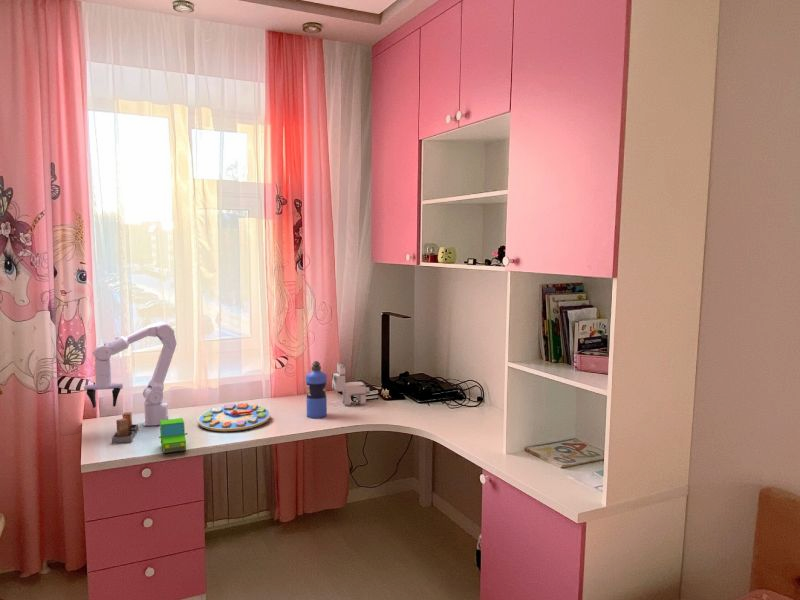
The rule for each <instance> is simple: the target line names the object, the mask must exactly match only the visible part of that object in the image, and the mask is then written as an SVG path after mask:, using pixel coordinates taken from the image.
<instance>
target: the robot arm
mask: <svg viewBox="0 0 800 600" xmlns="http://www.w3.org/2000/svg"><path fill="white" fill-rule="evenodd" d="M147 337H153V338H154V337H155V338H156V337H157V338H158V339H159V341H160V342H161V344H162V348H161V350H160V353H159V356H158V360H157V362H156V365H155V368H154V370H153V371H154V372H153V375H152V378H151V379H150V381H149V382H148V384H147V386H146V387H145V388H144V389H143V393H142V396H143V398H144V399H145V401H144V405H143V406H144V422H143V424H142V426H143V427H147V426H149V427H150V426H160V420H168V419H169V405H168V402H166V401H165V402H163V400H164V389H165V387H164V382H165V380H166V377H167V375H168V374H167V373H168V371H169V368H170V364H171V362H172V359H173V356H174V353H175V349H176V347H177V340H176V336H175V330H174V329H173V327H172V326H171V325H170V324H169V323H165V322H164V321H157V322H155V323H151V324H148V325H147V326H145V327H143V328H141V329H139V330H137V331H135V332H133V333H131V334H130V335H127V336H122V335H121V336H118V335H117V336H115V337H114V339H112V340H110V341H108V342H103V344H98V345H97V346H96V347H95V348H94V349H93V352H92V355H93V356H94V357H95V358H94V362H95V364H94V370H95V371H94V372H95V374H94V375H95V384H94V383H93V384H85V385H83V391H85V392H86V395H87V396H88V398H89V400H90V402H91V405H92V408H94V409H96V407H97V402H96V391H97V390H98V391H100V390H101V391H102V390H111V393H112V407H116V405H117V400H118V396H119V394H120V392H121V390H122V389H124V383H123V382H122V383H121V382H120V383H118V382H117V383H115V382H112V373H111V372H112V371H111V360H110V359H111V357H112V356H114V355H116V354H118V353H120V352H123V351H124V350H126V349H128V348H129V345H130V344H133V343H135V342H138V341H140V340H142V339H144V338H147Z"/></svg>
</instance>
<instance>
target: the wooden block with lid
mask: <svg viewBox="0 0 800 600" xmlns="http://www.w3.org/2000/svg"><path fill="white" fill-rule="evenodd" d="M116 432H117V437H125V436H128V420H127V419H124V418H123V417H122V418H120V419H116Z"/></svg>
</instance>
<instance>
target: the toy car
mask: <svg viewBox="0 0 800 600" xmlns="http://www.w3.org/2000/svg"><path fill="white" fill-rule="evenodd" d="M159 427H160V428H159V429H160V430H159V431H160V436H158V439H160V445H161V449H162V454H163V455H165V454H167V453H170V452H171V453H172V452H181V451H183V452H184V451H185V452H187V443H186V442H187V441H186V436H187V435H188V432H187V433H186V432H185V421H184V418H183V417H179V418H177V417H176V418H168V420H160V425H159Z"/></svg>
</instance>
